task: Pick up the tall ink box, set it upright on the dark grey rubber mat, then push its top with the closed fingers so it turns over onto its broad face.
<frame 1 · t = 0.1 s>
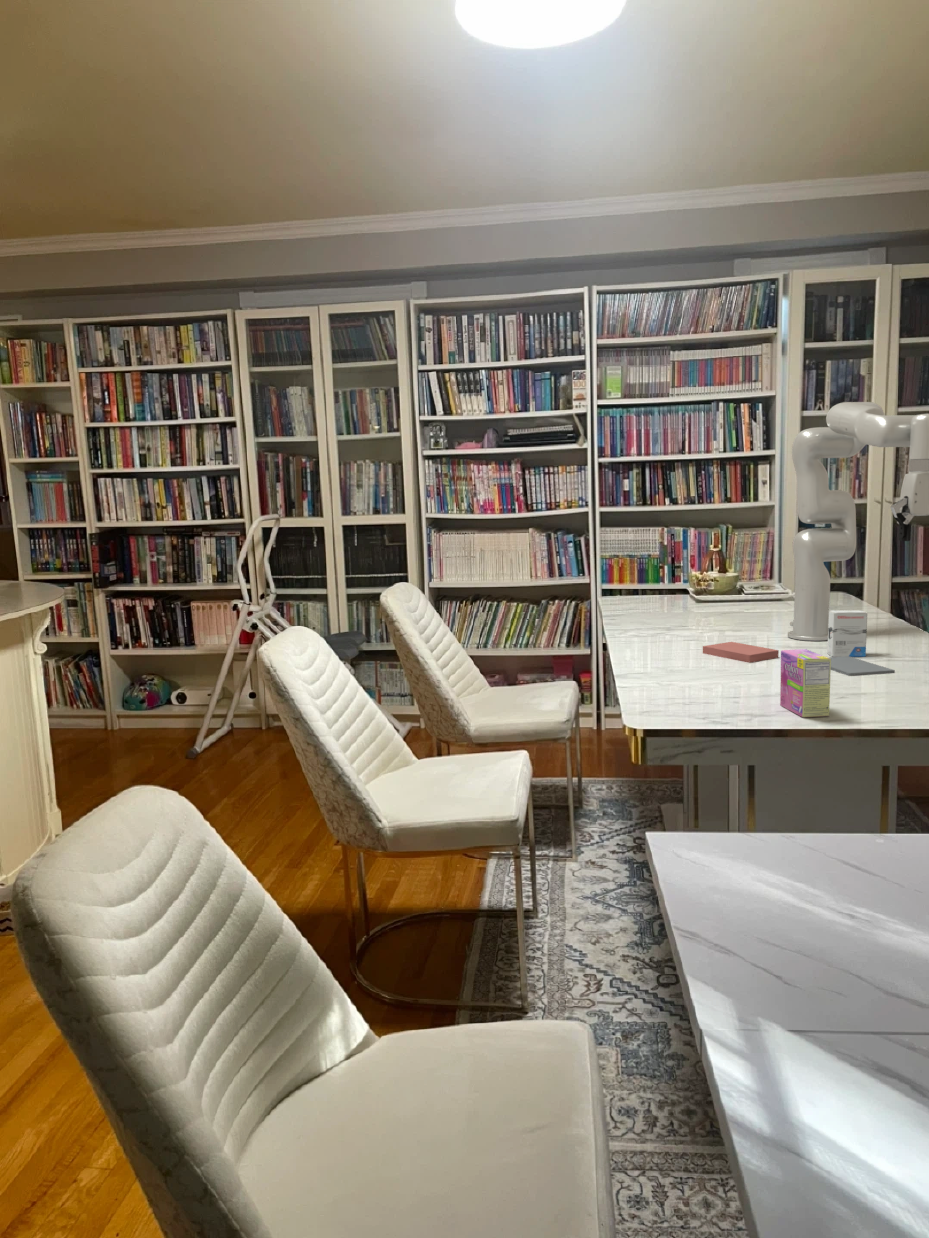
hand: (922, 540, 215), 31 cm above the table, fingers open, 9 cm apart
slate mat: (848, 666, 223), on the table
box: (803, 712, 182), on the table
ink box: (846, 656, 237), on the table
hardcover book: (739, 657, 240), on the table
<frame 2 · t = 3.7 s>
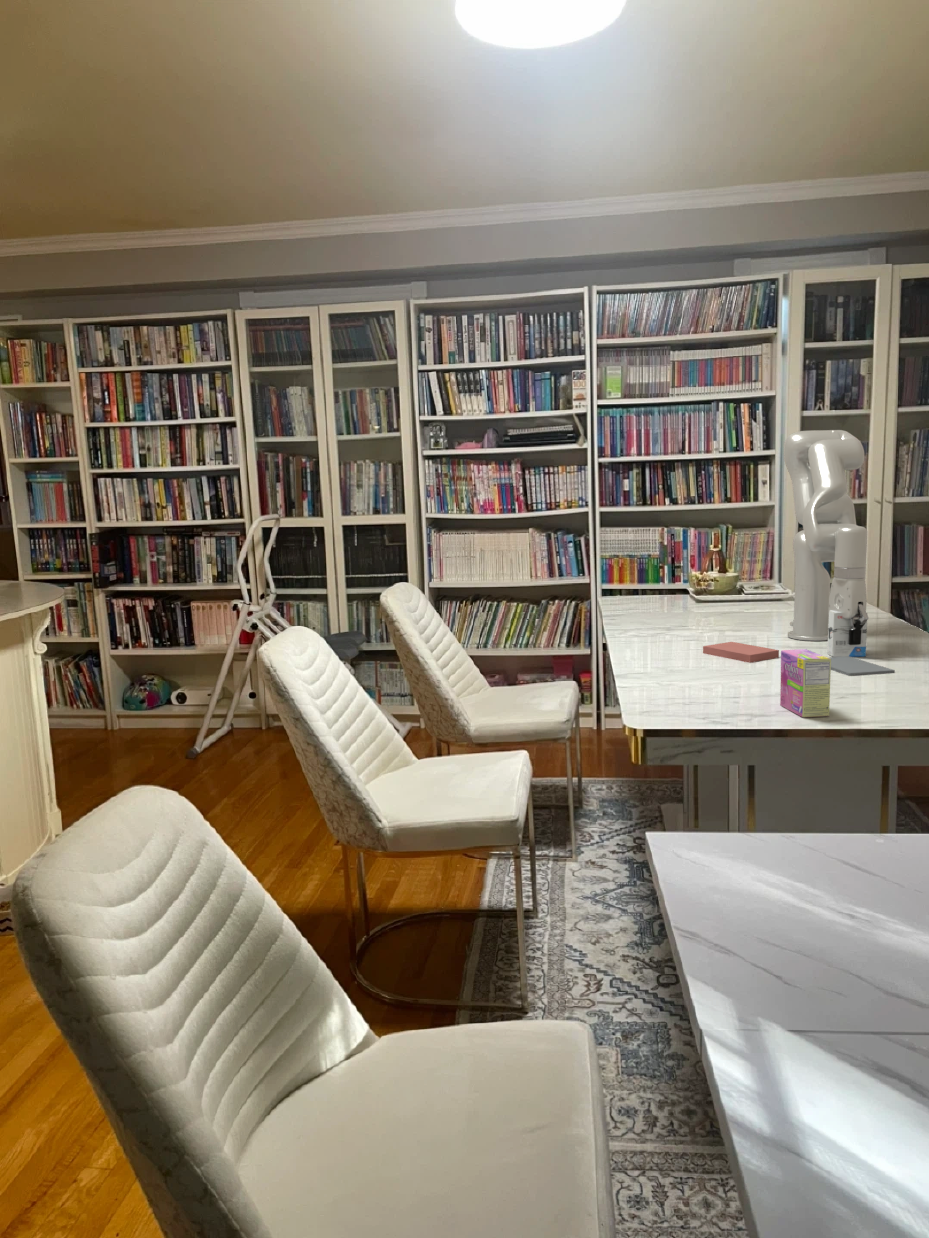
hand: (846, 641, 236), 4 cm above the table, fingers closed on ink box, 6 cm apart
ink box: (846, 656, 237), on the table, touching gripper
everything else where it was.
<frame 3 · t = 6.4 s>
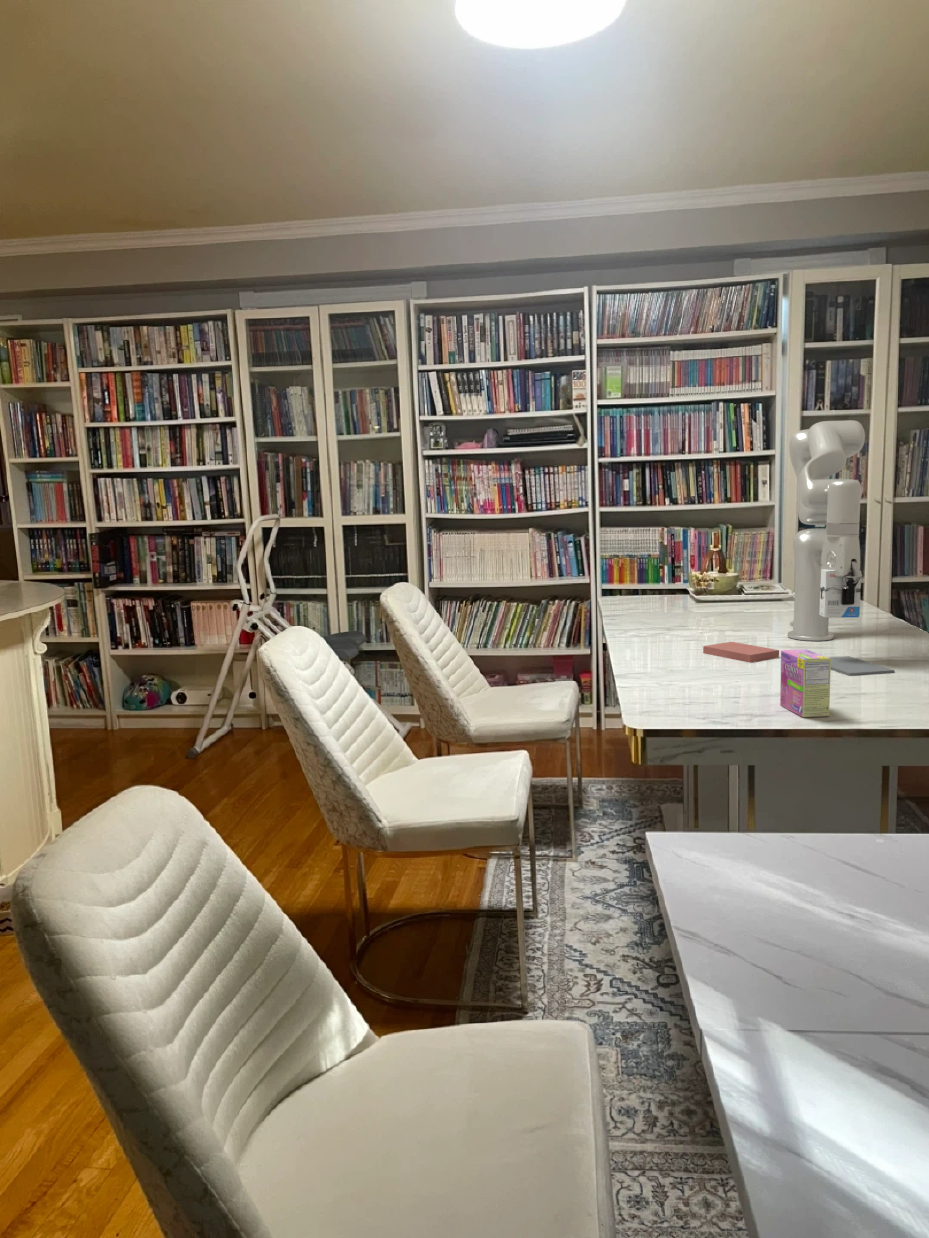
hand: (839, 602, 225), 15 cm above the table, fingers closed on ink box, 6 cm apart
ink box: (838, 617, 226), point 12 cm above the table, touching gripper
everything else where it was.
when the fingers open (5 cm above the table, at t = 8.9 s): ink box drops 1 cm, resting on slate mat.
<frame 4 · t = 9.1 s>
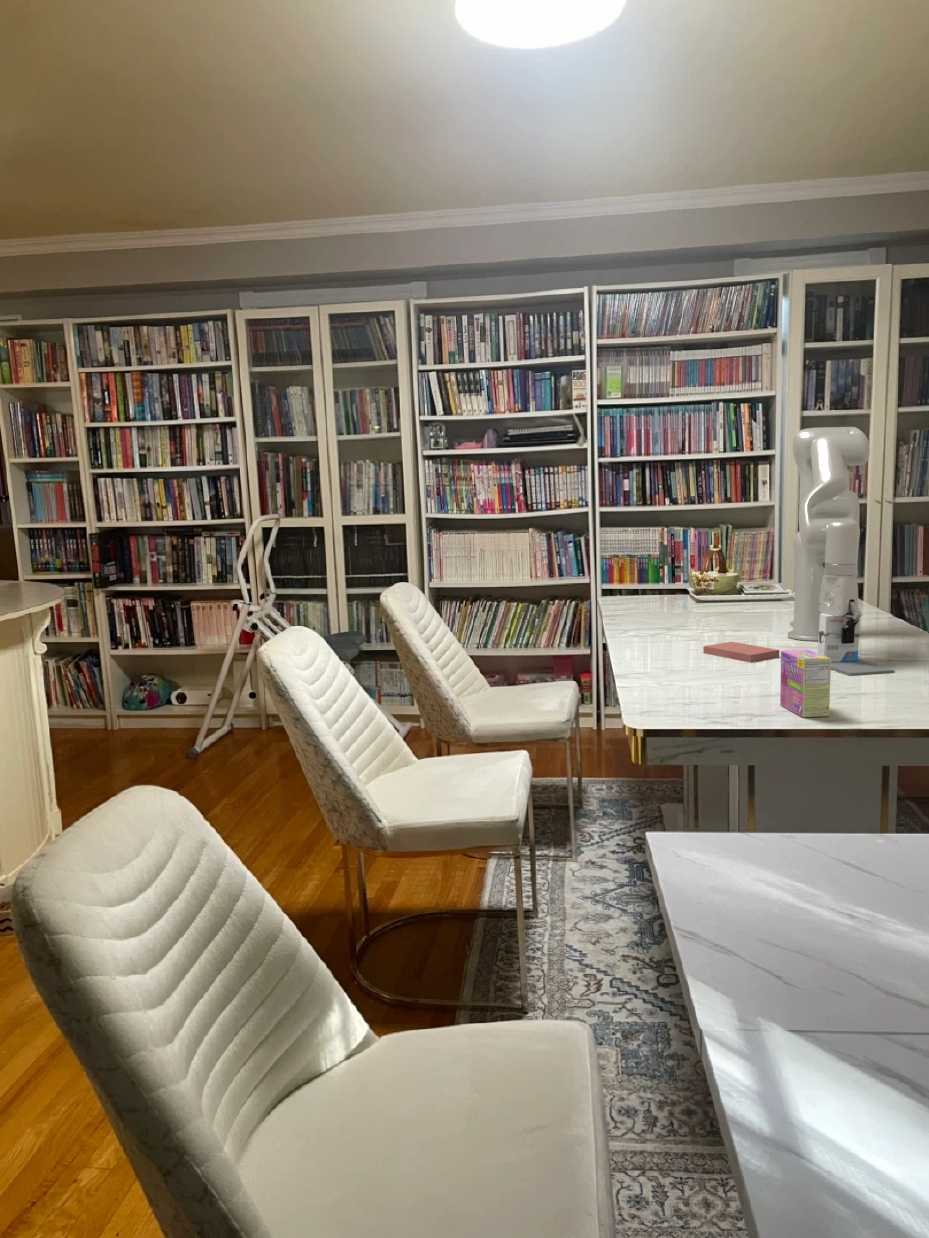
hand: (837, 640, 227), 6 cm above the table, fingers open, 7 cm apart
ink box: (837, 660, 228), resting on slate mat
everything else where it was.
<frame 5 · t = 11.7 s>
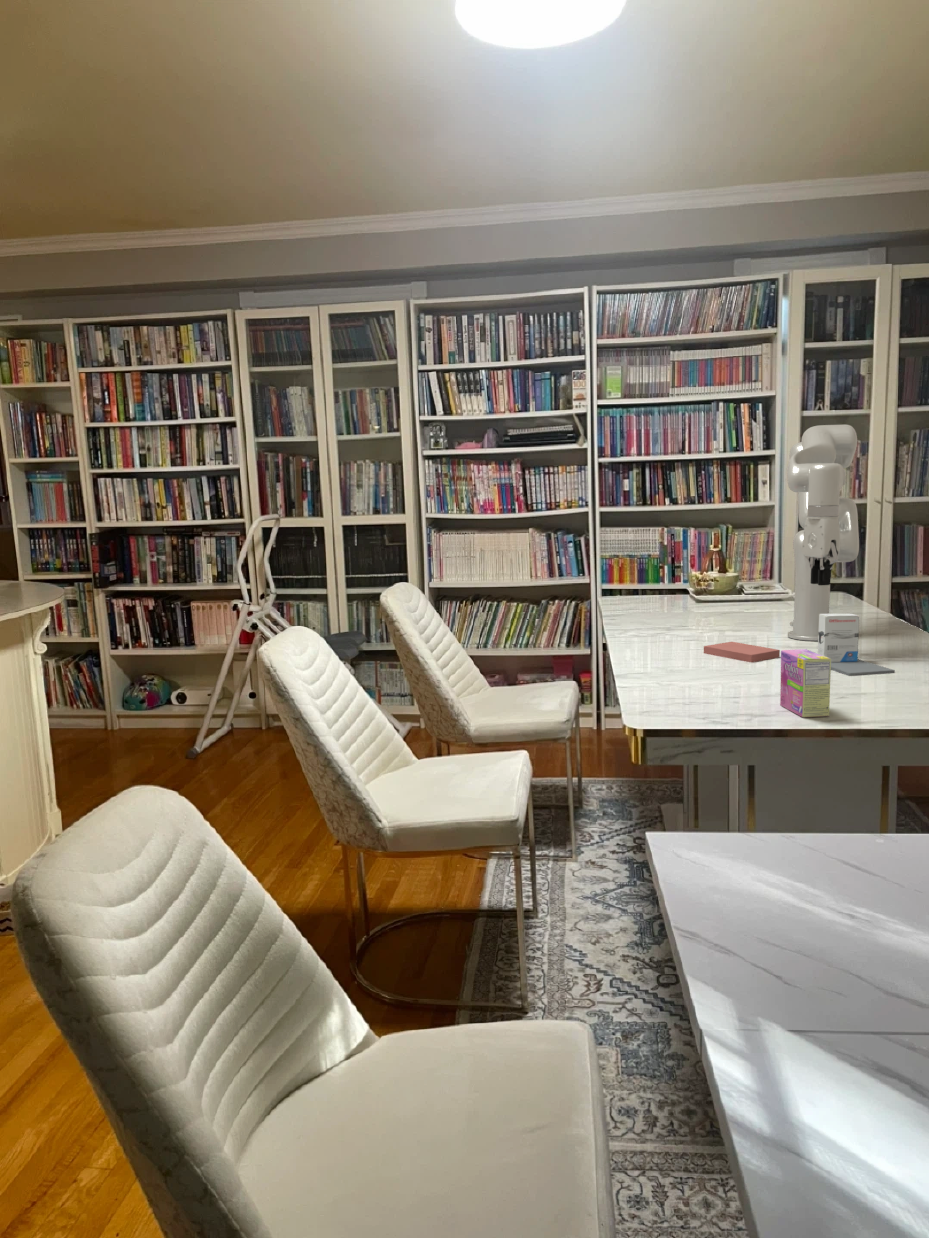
hand: (820, 583, 233), 19 cm above the table, fingers closed
nothing on the table moved.
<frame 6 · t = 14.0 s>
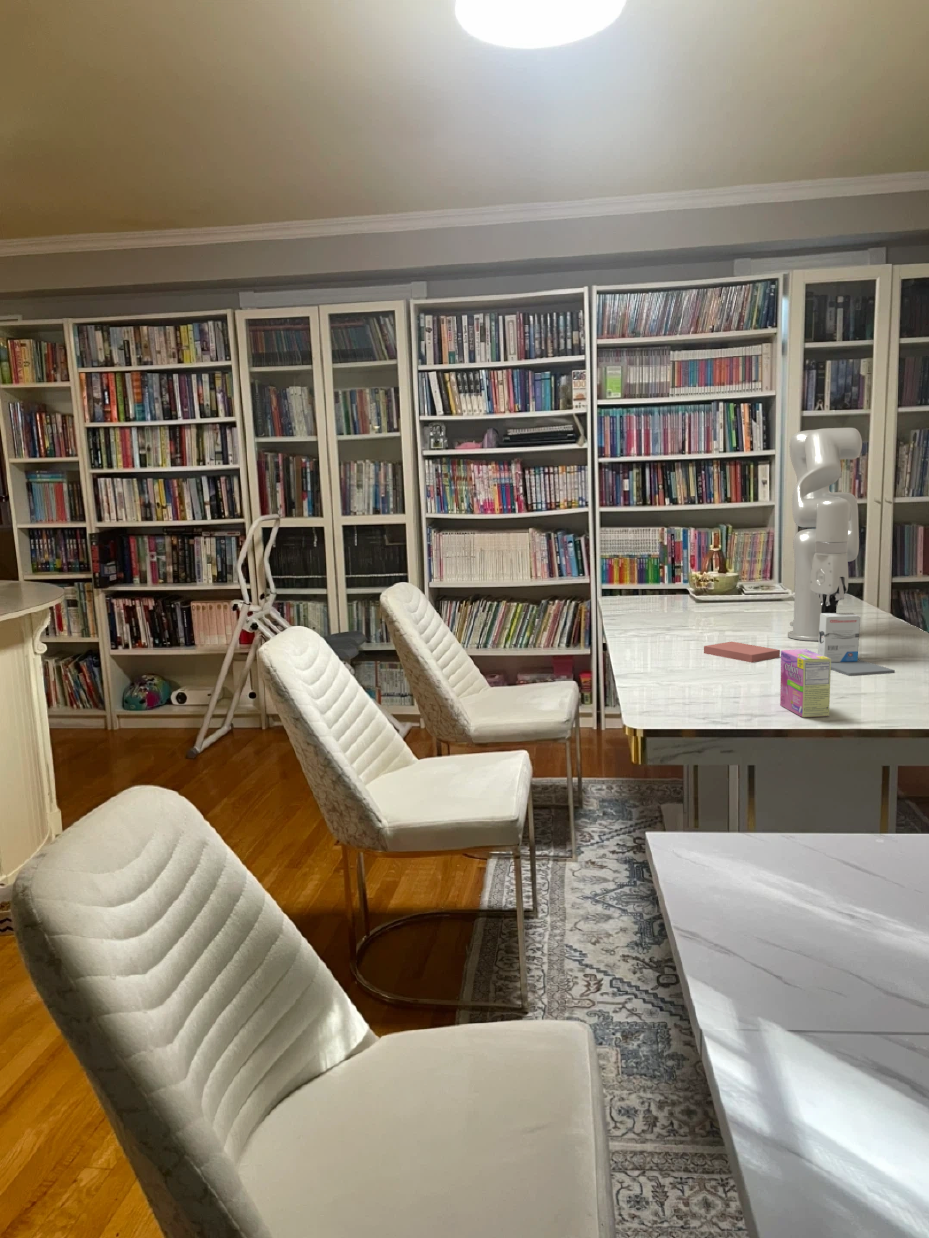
hand: (828, 620, 230), 10 cm above the table, fingers closed
ink box: (837, 660, 228), point 1 cm above the table, touching gripper, slate mat
everything else where it was.
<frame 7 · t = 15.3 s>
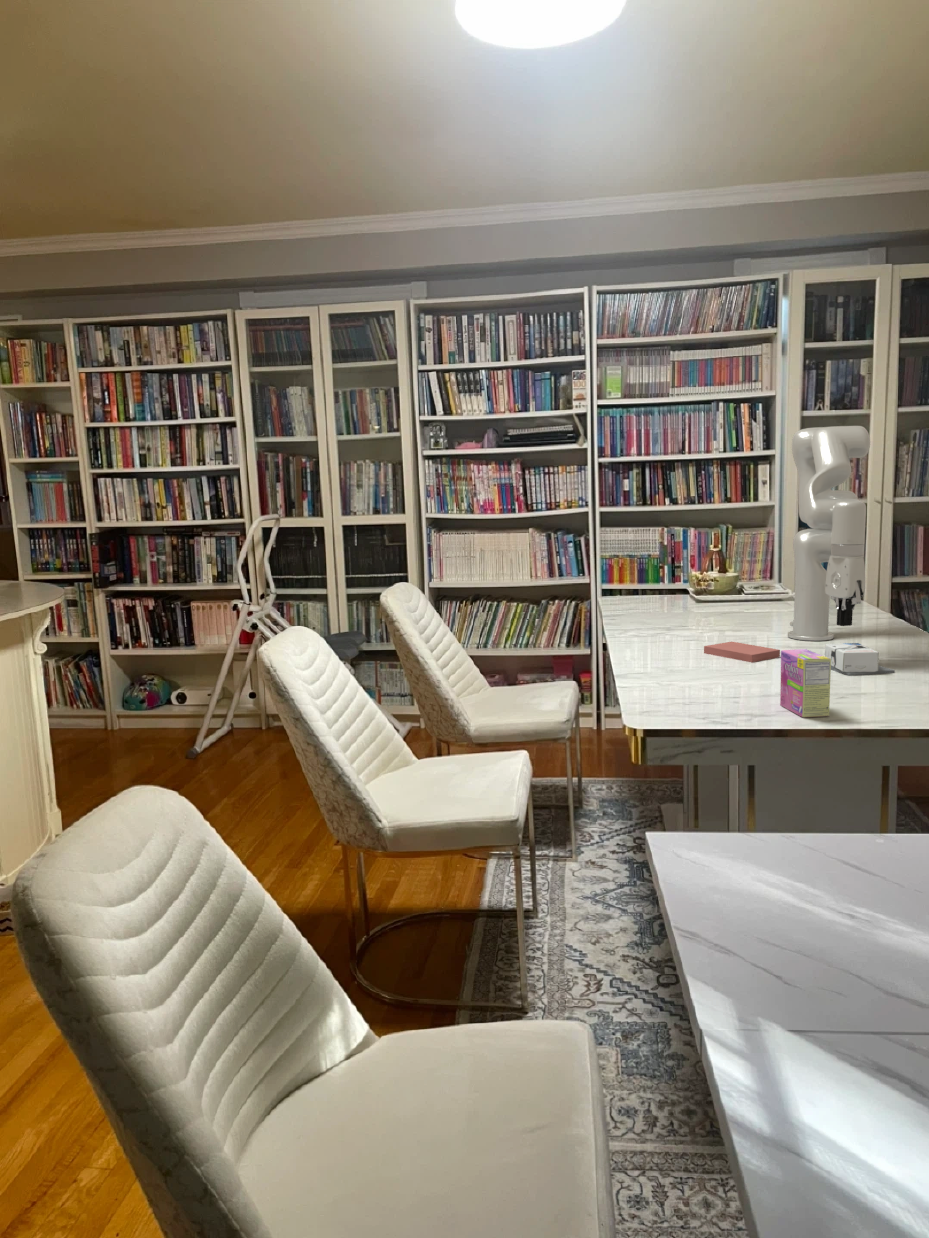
hand: (844, 625, 224), 10 cm above the table, fingers closed
ink box: (841, 652, 225), point 3 cm above the table, touching slate mat
everything else where it was.
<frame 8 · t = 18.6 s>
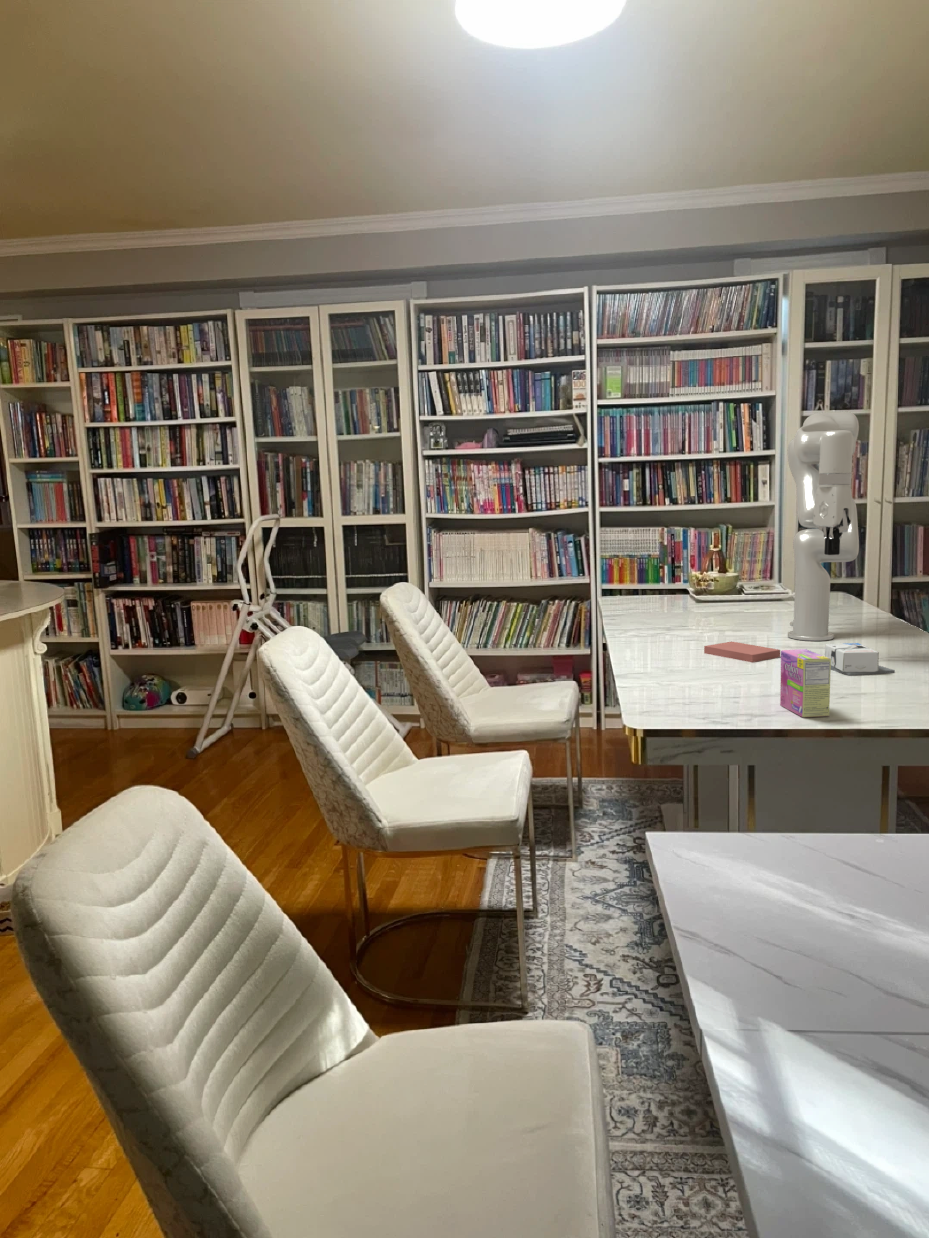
hand: (831, 554, 227), 27 cm above the table, fingers closed
nothing on the table moved.
at the end: ink box tilted 90°; ink box inside the target area (5.5 cm from its centre), point 3.1 cm above the table; the gripper is holding nothing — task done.
